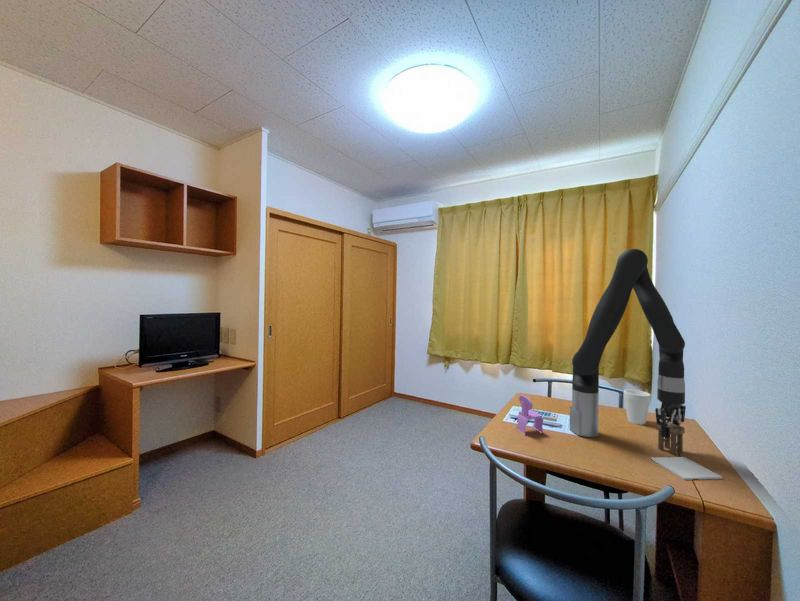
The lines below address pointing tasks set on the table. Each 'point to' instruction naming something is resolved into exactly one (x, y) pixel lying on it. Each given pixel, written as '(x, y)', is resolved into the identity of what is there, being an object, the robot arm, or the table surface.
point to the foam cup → (637, 405)
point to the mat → (686, 468)
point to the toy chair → (528, 415)
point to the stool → (672, 438)
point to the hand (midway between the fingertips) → (670, 435)
